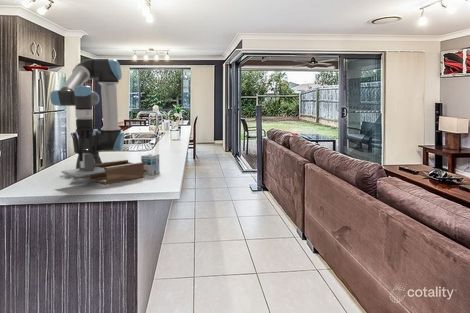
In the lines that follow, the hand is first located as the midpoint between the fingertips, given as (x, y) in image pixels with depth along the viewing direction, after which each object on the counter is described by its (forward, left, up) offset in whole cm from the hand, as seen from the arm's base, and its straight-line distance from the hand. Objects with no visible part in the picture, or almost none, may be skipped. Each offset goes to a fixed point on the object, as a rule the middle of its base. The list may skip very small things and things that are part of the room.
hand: (86, 166), depth 190 cm
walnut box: (0, +17, -9) cm, 19 cm away
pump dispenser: (-18, +10, -9) cm, 23 cm away
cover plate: (0, 0, -3) cm, 3 cm away
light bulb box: (0, +39, -9) cm, 40 cm away
